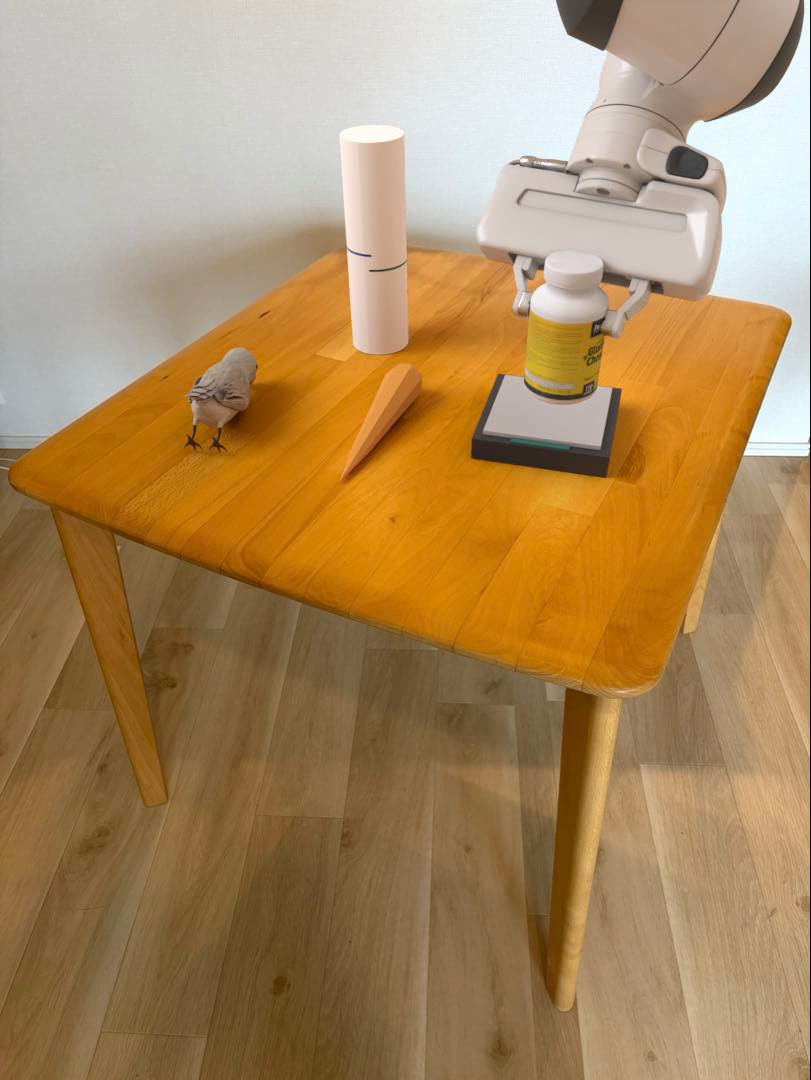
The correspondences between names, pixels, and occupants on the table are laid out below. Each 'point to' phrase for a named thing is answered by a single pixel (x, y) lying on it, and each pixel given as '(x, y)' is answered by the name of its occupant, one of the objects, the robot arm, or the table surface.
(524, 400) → the scale
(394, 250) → the cylindrical container
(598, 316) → the pill bottle
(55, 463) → the table surface
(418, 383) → the carrot
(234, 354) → the decorative bird
